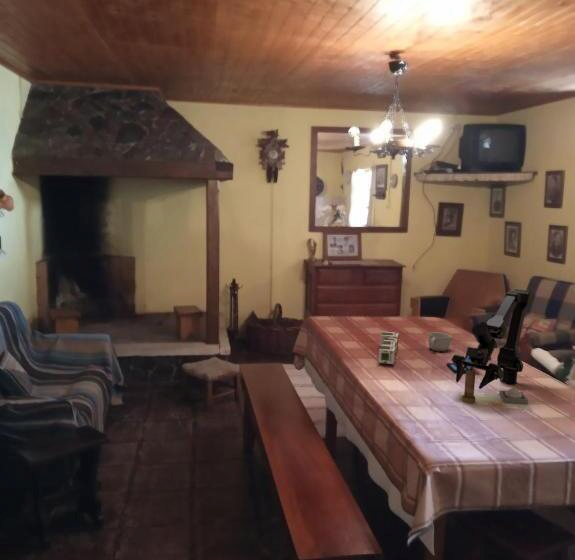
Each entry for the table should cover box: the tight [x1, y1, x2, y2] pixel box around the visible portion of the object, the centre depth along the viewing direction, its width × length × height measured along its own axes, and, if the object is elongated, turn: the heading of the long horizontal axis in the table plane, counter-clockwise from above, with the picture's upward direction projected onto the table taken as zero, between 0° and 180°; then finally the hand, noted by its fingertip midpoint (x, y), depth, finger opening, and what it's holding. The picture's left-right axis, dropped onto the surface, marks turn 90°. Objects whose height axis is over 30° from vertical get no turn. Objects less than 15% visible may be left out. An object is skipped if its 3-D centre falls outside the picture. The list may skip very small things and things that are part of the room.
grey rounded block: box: [428, 331, 452, 352], centre depth 280 cm, size 14×11×8 cm
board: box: [458, 389, 533, 411], centre depth 212 cm, size 14×24×3 cm, turn 80°
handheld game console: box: [446, 354, 474, 375], centre depth 250 cm, size 12×11×7 cm
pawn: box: [461, 369, 476, 404], centre depth 209 cm, size 5×5×12 cm
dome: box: [504, 387, 522, 399], centre depth 212 cm, size 6×6×4 cm
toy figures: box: [378, 330, 400, 365], centre depth 270 cm, size 35×8×7 cm, turn 165°
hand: (467, 385), depth 208 cm, fingers open, 9 cm apart
